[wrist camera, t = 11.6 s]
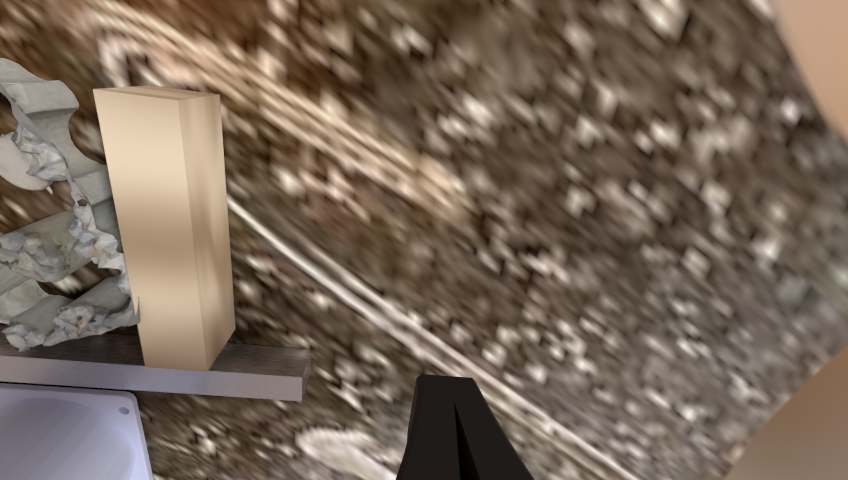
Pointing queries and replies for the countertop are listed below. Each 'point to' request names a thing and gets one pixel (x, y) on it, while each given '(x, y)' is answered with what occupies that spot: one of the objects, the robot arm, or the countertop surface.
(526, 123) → the countertop surface
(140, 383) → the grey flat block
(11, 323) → the egg carton
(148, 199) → the block
